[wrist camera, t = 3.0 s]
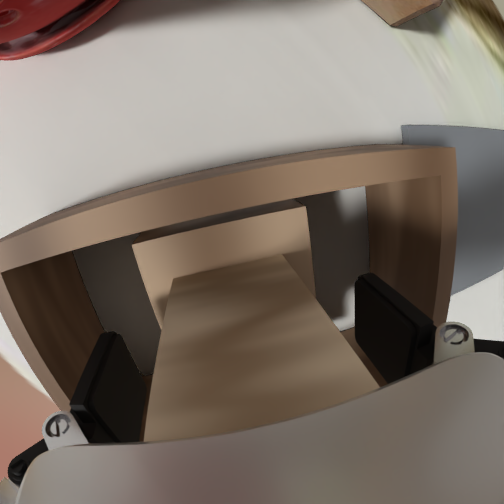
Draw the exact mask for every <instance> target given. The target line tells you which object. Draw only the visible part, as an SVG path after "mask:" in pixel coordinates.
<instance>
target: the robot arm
mask: <svg viewBox="0 0 504 504" xmlns="http://www.w3.org/2000/svg"><path fill="white" fill-rule="evenodd" d="M433 323H434V321H433V320H432V319H430V318H429V317H428V316H427V315H426V314H424V313H423V312H422V311H421V310H419V309H418V308H417V307H416V306H415V305H413V304H412V303H411V302H410V301H408V300H407V299H406V298H405V297H403V296H402V295H401V294H400V293H398V292H397V291H396V290H395V289H393V288H392V287H391V286H389V285H388V284H387V283H386V282H384V281H383V280H382V279H380V278H379V277H378V276H377V275H375V274H374V273H368V274H365V275H361V276H359V277H358V280H357V281H355V339H356V342H357V344H358V345H359V346H360V348H361V349H362V350H363V352H364V353H365V354H366V356H367V357H368V358H369V359H370V361H371V362H372V363H373V365H374V366H375V367H376V369H377V370H378V371H379V373H380V374H381V375H382V377H383V378H384V379H385V381H386V382H387V383H388V384H387V385H385V386H382V387H380V388H377V389H375V390H372V391H370V392H367V393H365V394H362V395H359V396H357V397H354V398H351V399H349V400H346V401H343V402H340V403H337V404H334V405H331V406H328V407H325V408H322V409H319V410H315V411H312V412H309V413H305V414H302V415H298V416H295V417H291V418H288V419H284V420H280V421H276V422H272V423H268V424H263V425H259V426H254V427H250V428H245V429H240V430H235V431H229V432H223V433H217V434H211V435H205V436H197V437H190V438H181V439H172V440H160V441H146V442H139V439H140V432H141V425H142V418H143V411H144V405H145V399H146V393H147V388H146V384H145V382H144V380H143V378H142V376H141V375H140V373H139V371H138V369H137V367H136V365H135V363H134V361H133V359H132V357H131V355H130V353H129V351H128V349H127V347H126V345H125V343H124V341H123V339H122V337H121V335H119V334H118V335H117V334H116V332H114V331H113V332H107V333H102V334H100V336H99V338H98V340H97V342H96V344H95V347H94V349H93V351H92V353H91V355H90V357H89V359H88V362H87V364H86V366H85V368H84V371H83V373H82V375H81V377H80V380H79V382H78V384H77V387H76V389H75V391H74V394H73V396H72V399H71V401H70V404H69V405H70V407H71V410H70V412H67V411H58V412H55V413H53V414H52V415H50V416H49V417H48V418H47V419H46V420H45V422H44V424H43V427H42V434H43V437H44V439H42V440H41V441H39V442H38V443H36V444H35V445H33V446H32V447H30V448H28V449H27V450H25V451H24V452H22V453H21V454H20V455H18V456H16V457H15V458H14V459H13V460H12V461H11V463H10V464H9V467H8V477H9V479H7V478H5V477H4V479H3V480H2V481H1V482H0V504H504V341H492V340H481V339H473V334H472V331H471V330H470V328H469V327H467V326H466V325H464V324H462V323H459V322H446V323H443V324H441V325H440V326H438V328H437V327H436V326H435V325H434V324H433Z"/></svg>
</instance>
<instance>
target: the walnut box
mask: <svg viewBox="0 0 504 504" xmlns="http://www.w3.org/2000/svg"><path fill="white" fill-rule="evenodd" d="M361 186H365V189H366V200H367V214H368V230H369V256H370V273H374V274H375V275H377V276H378V277H379V278H380V279H382V280H383V281H384V282H386V283H387V284H388V285H389V286H391V287H392V288H393V289H395V290H396V291H397V292H398V293H400V294H401V295H402V296H403V297H405V298H406V299H407V300H408V301H410V302H411V303H412V304H413V305H415V306H416V307H417V308H418V309H419V310H421V311H422V312H423V313H424V314H426V315H427V316H428V317H429V318H430V319H432V320H433V321H434V323H433V324H434V325H435V326H436V327H437V328H438V326H440V325H441V324H443V323H446V319H447V313H448V308H449V302H450V296H451V289H452V282H453V274H454V265H455V255H456V241H457V221H458V182H457V162H456V149H455V147H443V146H426V145H395V144H374V145H362V146H352V147H342V148H333V149H325V150H317V151H309V152H302V153H295V154H288V155H282V156H275V157H269V158H263V159H258V160H252V161H246V162H241V163H236V164H231V165H226V166H221V167H216V168H211V169H207V170H202V171H198V172H193V173H189V174H185V175H181V176H176V177H172V178H168V179H164V180H160V181H157V182H153V183H149V184H145V185H142V186H138V187H134V188H131V189H127V190H124V191H120V192H117V193H114V194H110V195H107V196H104V197H101V198H97V199H94V200H91V201H88V202H85V203H82V204H79V205H76V206H73V207H70V208H67V209H64V210H62V211H59V212H56V213H53V214H50V215H48V216H45V217H43V218H41V219H39V220H37V221H35V222H33V223H31V224H29V225H27V226H25V227H23V228H21V229H19V230H17V231H15V232H13V233H11V234H9V235H7V236H5V237H3V238H1V239H0V312H1V314H2V316H3V318H4V320H5V322H6V324H7V326H8V328H9V330H10V332H11V334H12V336H13V338H14V340H15V341H16V343H17V345H18V347H19V349H20V350H21V352H22V354H23V355H24V357H25V359H26V360H27V362H28V364H29V365H30V367H31V369H32V370H33V372H34V373H35V375H36V376H37V378H38V379H39V381H40V382H41V384H42V385H43V387H44V388H45V390H46V391H47V392H48V394H49V395H50V397H51V398H52V399H53V401H54V402H55V403H56V405H57V406H58V407H59V409H60V410H61V411H67V412H70V410H71V407H70V405H69V404H70V401H71V399H72V396H73V394H74V391H75V389H76V387H77V384H78V382H79V380H80V377H81V375H82V373H83V371H84V368H85V366H86V364H87V362H88V359H89V357H90V355H91V353H92V351H93V349H94V347H95V344H96V342H97V340H98V338H99V336H100V334H102V333H105V332H104V330H103V328H102V326H101V323H100V321H99V319H98V317H97V315H96V312H95V310H94V308H93V305H92V303H91V301H90V298H89V296H88V293H87V291H86V288H85V286H84V283H83V281H82V278H81V275H80V273H79V270H78V267H77V264H76V262H75V259H74V256H73V253H72V250H75V249H79V248H82V247H86V246H90V245H93V244H97V243H101V242H104V241H108V240H112V239H115V238H119V237H123V236H127V235H131V234H135V233H139V232H141V233H140V235H139V236H138V237H137V238H136V240H135V241H134V242H133V244H132V248H133V251H134V254H135V258H136V261H137V264H138V267H139V270H140V273H141V276H142V279H143V282H144V285H145V288H146V291H147V294H148V296H149V299H150V302H151V305H152V307H153V310H154V313H155V315H156V318H157V321H158V323H159V326H160V328H161V331H162V326H163V321H164V316H165V311H166V307H167V302H168V298H169V293H170V289H171V285H172V280H173V278H178V277H182V276H187V275H191V274H196V273H200V272H205V271H209V270H214V269H218V268H223V267H227V266H232V265H236V264H241V263H245V262H250V261H254V260H258V259H263V258H267V257H272V256H276V255H280V254H282V255H283V256H284V257H285V259H286V260H287V261H288V263H289V264H290V265H291V267H292V268H293V269H294V271H295V272H296V273H297V275H298V276H299V277H300V279H301V280H302V281H303V283H304V284H305V285H306V287H307V288H308V289H309V291H310V292H311V293H312V295H313V296H314V297H315V299H316V292H315V281H314V271H313V261H312V252H311V243H310V235H309V227H308V219H307V211H306V206H305V205H303V204H301V203H299V202H297V201H295V200H293V199H292V198H298V197H303V196H309V195H314V194H320V193H325V192H331V191H337V190H343V189H349V188H355V187H361ZM341 334H342V335H343V337H344V338H345V339H346V341H347V342H348V343H349V345H350V346H351V348H352V349H353V350H354V352H355V353H356V354H357V356H358V357H359V359H360V360H361V361H362V363H363V364H364V366H365V367H366V368H367V370H368V371H369V373H370V374H371V375H372V377H373V378H374V380H375V381H376V382H377V384H378V385H379V387H382V386H385V385H387V384H388V383H387V382H386V381H385V379H384V378H383V377H382V375H381V374H380V373H379V371H378V370H377V369H376V367H375V366H374V365H373V363H372V362H371V361H370V359H369V358H368V357H367V356H366V354H365V353H364V352H363V350H362V349H361V348H360V346H359V345H358V344H357V342H356V339H355V327H354V328H351V329H348V330H345V331H342V332H341ZM142 378H143V380H144V382H145V384H146V388H147V393H146V399H145V405H144V411H143V418H142V425H141V432H140V439H139V442H144V434H145V426H146V419H147V411H148V405H149V398H150V392H151V385H152V379H153V375H146V376H142Z"/></svg>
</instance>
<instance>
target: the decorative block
mask: <svg viewBox="0 0 504 504" xmlns="http://www.w3.org/2000/svg"><path fill="white" fill-rule="evenodd" d="M361 1H363V2H364V3H365V4H366V5H368V6H369V7H370V8H371V9H372V10H373V11H375V12H376V13H377V14H378V15H379V16H380V17H382V18H383V19H384V20H385V21H386V22H387V23H388V24H389V25H392V26H396V27H397V26H398V25H400V24H402V23H404V22H406V21H409V20H411V19H413V18H415V17H417V16H419V15H421V14H423V13H425V12H428V11H430V10H432V9H434V8H437V7H439V6H440V5H441V3H442V2H443V0H361Z"/></svg>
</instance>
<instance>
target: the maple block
mask: <svg viewBox="0 0 504 504" xmlns="http://www.w3.org/2000/svg"><path fill="white" fill-rule="evenodd" d="M377 388H380V387H379V385H378V384H377V382H376V381H375V380H374V378H373V377H372V375H371V374H370V373H369V371H368V370H367V368H366V367H365V366H364V364H363V363H362V361H361V360H360V359H359V357H358V356H357V354H356V353H355V352H354V350H353V349H352V348H351V346H350V345H349V343H348V342H347V341H346V339H345V338H344V337H343V335H342V334H341V332H340V331H339V330H338V328H337V327H336V326H335V324H334V323H333V322H332V320H331V319H330V317H329V316H328V315H327V313H326V312H325V311H324V309H323V308H322V307H321V305H320V304H319V303H318V301H317V300H316V299H315V297H314V296H313V295H312V293H311V292H310V291H309V289H308V288H307V287H306V285H305V284H304V283H303V281H302V280H301V279H300V277H299V276H298V275H297V273H296V272H295V271H294V269H293V268H292V267H291V265H290V264H289V263H288V261H287V260H286V259H285V257H284V256H283V255H282V254H280V255H276V256H272V257H267V258H263V259H258V260H254V261H250V262H245V263H241V264H236V265H232V266H227V267H223V268H218V269H214V270H209V271H205V272H200V273H196V274H191V275H187V276H182V277H178V278H173V280H172V285H171V289H170V293H169V298H168V302H167V307H166V311H165V316H164V321H163V326H162V331H161V336H160V341H159V346H158V351H157V356H156V362H155V368H154V373H153V379H152V385H151V392H150V398H149V405H148V411H147V419H146V426H145V434H144V442H146V441H160V440H172V439H181V438H190V437H197V436H205V435H211V434H217V433H223V432H229V431H235V430H240V429H245V428H250V427H254V426H259V425H263V424H268V423H272V422H276V421H280V420H284V419H288V418H291V417H295V416H298V415H302V414H305V413H309V412H312V411H315V410H319V409H322V408H325V407H328V406H331V405H334V404H337V403H340V402H343V401H346V400H349V399H351V398H354V397H357V396H359V395H362V394H365V393H367V392H370V391H372V390H375V389H377Z"/></svg>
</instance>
